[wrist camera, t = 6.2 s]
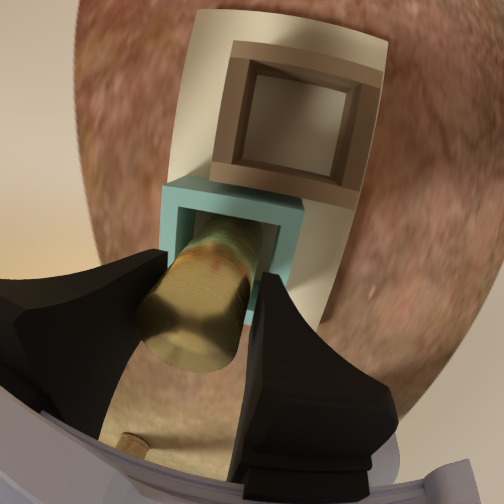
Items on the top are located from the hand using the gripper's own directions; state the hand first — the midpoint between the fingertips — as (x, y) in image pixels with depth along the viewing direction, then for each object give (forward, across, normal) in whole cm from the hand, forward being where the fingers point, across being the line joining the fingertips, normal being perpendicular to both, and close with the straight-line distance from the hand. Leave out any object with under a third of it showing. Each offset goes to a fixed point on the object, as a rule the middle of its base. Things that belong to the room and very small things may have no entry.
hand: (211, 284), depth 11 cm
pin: (+5, 0, 0) cm, 5 cm away
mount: (+5, -2, -7) cm, 8 cm away
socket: (+6, 0, 0) cm, 6 cm away
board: (+6, -1, -4) cm, 7 cm away
